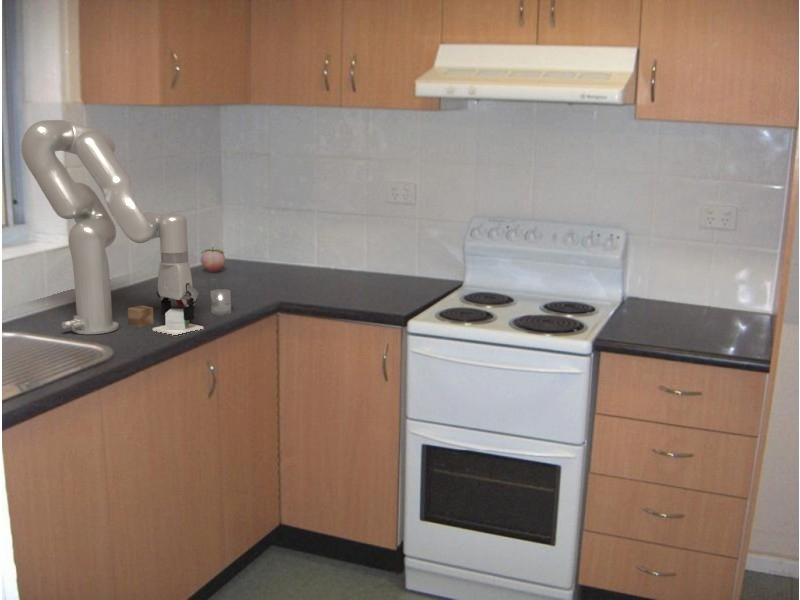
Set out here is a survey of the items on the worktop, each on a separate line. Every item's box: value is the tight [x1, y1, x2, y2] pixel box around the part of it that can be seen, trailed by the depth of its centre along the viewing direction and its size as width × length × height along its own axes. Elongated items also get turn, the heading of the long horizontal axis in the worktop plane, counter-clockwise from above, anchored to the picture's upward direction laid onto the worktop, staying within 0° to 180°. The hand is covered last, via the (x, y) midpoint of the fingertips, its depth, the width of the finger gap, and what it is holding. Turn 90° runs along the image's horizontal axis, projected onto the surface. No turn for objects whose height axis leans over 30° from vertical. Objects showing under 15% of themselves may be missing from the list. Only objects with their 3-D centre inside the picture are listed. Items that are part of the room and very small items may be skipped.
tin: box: [210, 288, 232, 316], centre depth 271 cm, size 6×6×7 cm
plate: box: [152, 322, 204, 336], centre depth 251 cm, size 10×10×1 cm
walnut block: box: [127, 305, 155, 328], centre depth 257 cm, size 5×5×5 cm
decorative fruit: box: [200, 246, 226, 273], centre depth 337 cm, size 9×8×10 cm
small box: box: [164, 308, 190, 330], centre depth 250 cm, size 6×6×5 cm
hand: (177, 317), depth 250 cm, fingers open, 9 cm apart
